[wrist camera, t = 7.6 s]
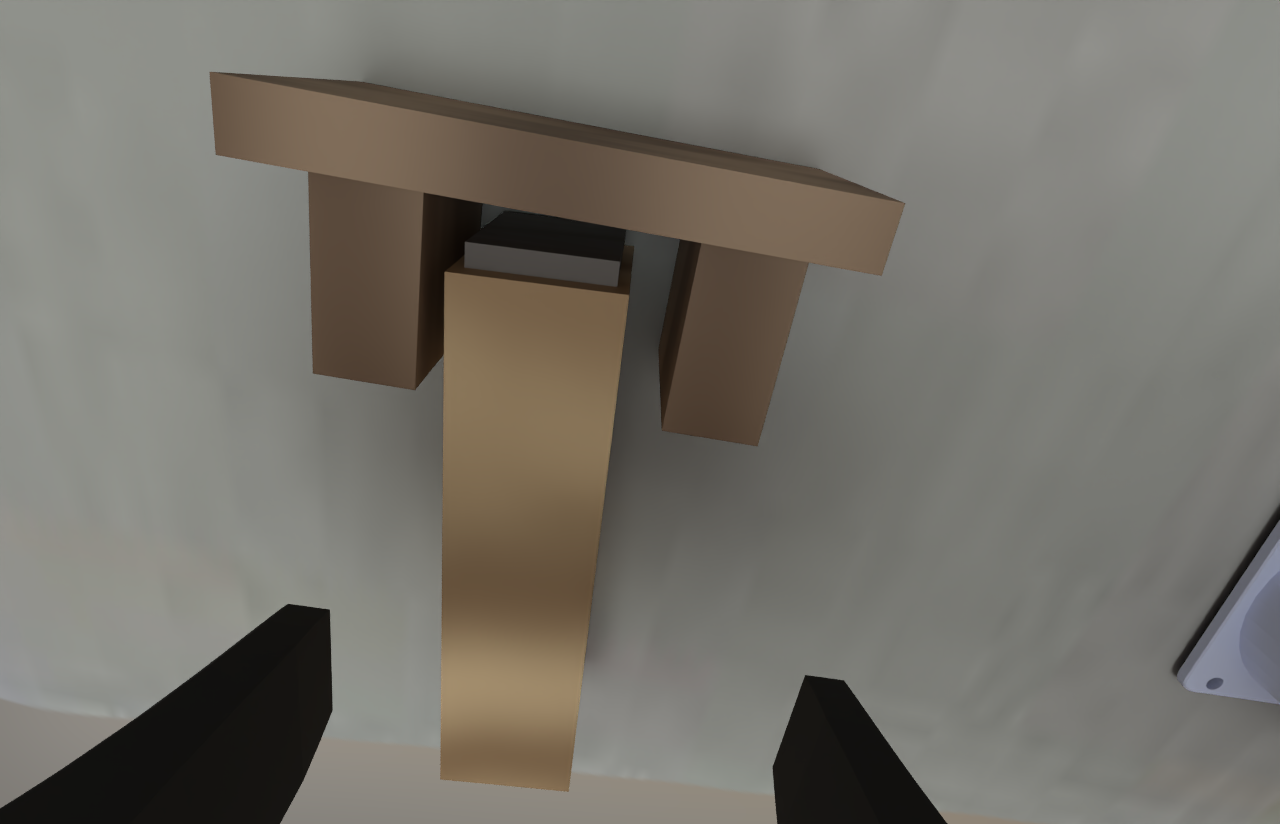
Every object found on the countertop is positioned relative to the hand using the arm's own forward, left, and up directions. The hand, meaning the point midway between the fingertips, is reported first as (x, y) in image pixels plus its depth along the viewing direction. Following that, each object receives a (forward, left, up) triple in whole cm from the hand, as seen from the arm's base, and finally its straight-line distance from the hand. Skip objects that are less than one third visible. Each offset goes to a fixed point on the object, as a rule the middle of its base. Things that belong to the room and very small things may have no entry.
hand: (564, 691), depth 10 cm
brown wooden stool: (+1, -4, -10) cm, 11 cm away
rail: (+1, +2, -10) cm, 10 cm away
